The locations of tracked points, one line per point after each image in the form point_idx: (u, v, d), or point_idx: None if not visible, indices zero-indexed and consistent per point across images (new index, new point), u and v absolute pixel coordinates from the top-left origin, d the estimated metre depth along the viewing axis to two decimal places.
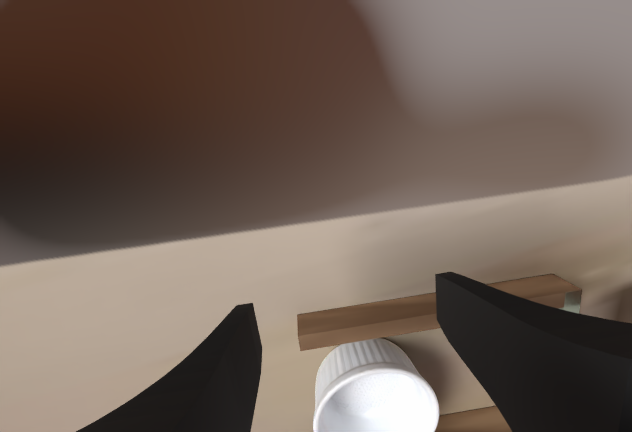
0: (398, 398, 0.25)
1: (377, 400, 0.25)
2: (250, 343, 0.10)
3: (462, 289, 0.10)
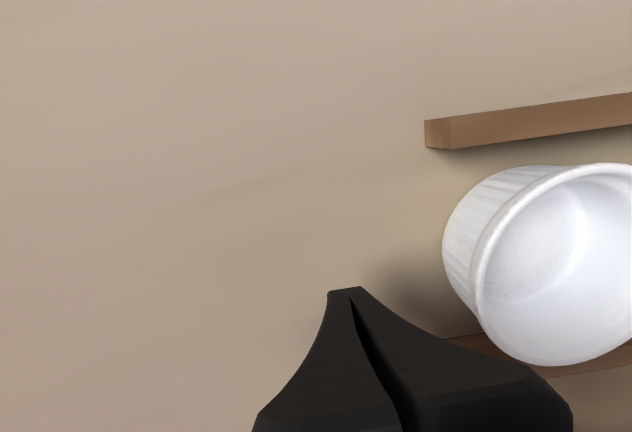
0: (564, 274, 0.16)
1: (532, 277, 0.16)
2: None
3: (355, 306, 0.10)
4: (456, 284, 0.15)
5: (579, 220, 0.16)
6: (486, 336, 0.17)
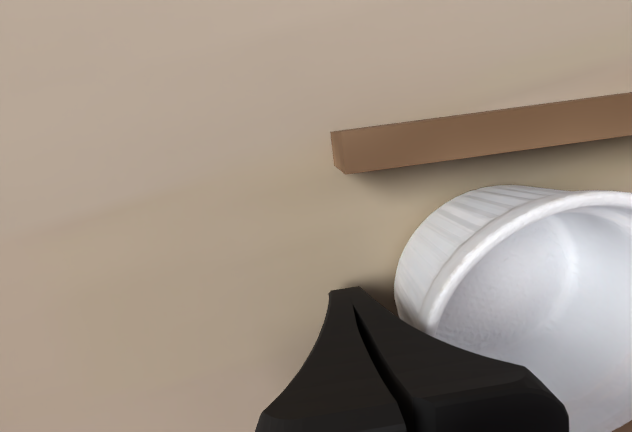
0: (550, 319, 0.13)
1: (510, 323, 0.13)
2: None
3: (353, 306, 0.10)
4: None
5: (567, 253, 0.12)
6: None
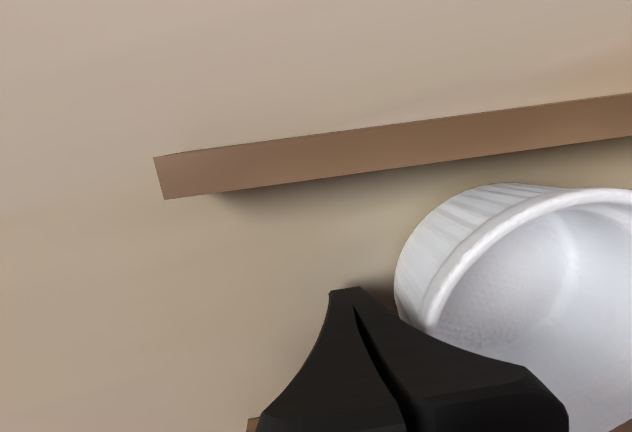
0: (550, 316, 0.13)
1: (510, 321, 0.13)
2: None
3: (353, 306, 0.10)
4: None
5: (567, 250, 0.12)
6: None
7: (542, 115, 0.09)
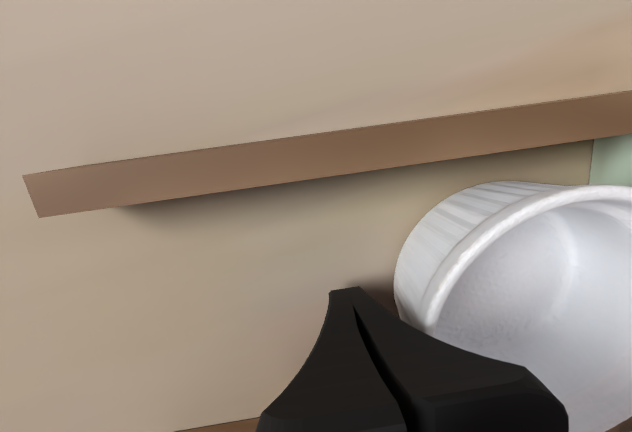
0: (551, 314, 0.13)
1: (511, 320, 0.13)
2: None
3: (353, 306, 0.10)
4: None
5: (567, 247, 0.12)
6: (238, 426, 0.14)
7: (424, 129, 0.09)
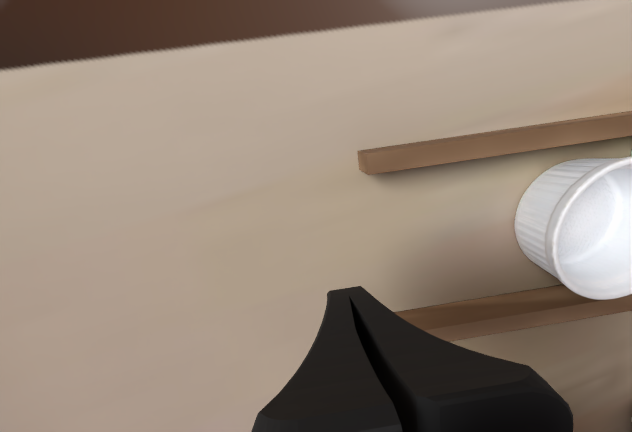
0: (605, 238, 0.22)
1: (582, 241, 0.22)
2: None
3: (355, 306, 0.10)
4: (530, 246, 0.20)
5: (616, 197, 0.21)
6: (414, 311, 0.23)
7: (556, 130, 0.18)
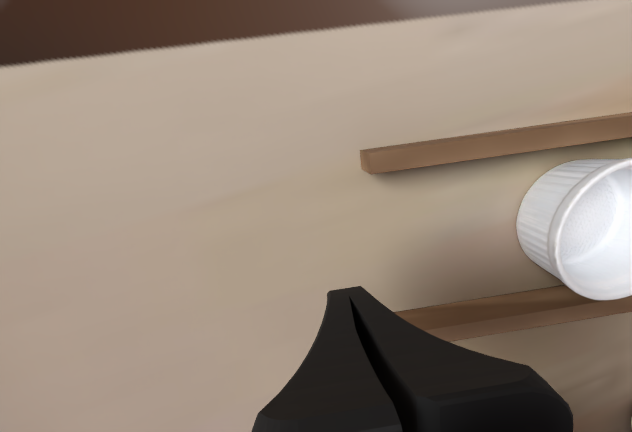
0: (606, 239, 0.22)
1: (583, 242, 0.22)
2: None
3: (355, 306, 0.10)
4: (532, 247, 0.20)
5: (617, 198, 0.21)
6: (415, 311, 0.23)
7: (559, 130, 0.18)
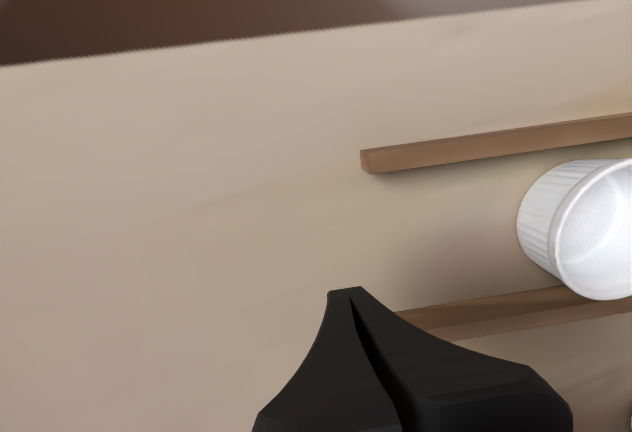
0: (607, 239, 0.22)
1: (583, 242, 0.22)
2: None
3: (355, 306, 0.10)
4: (532, 247, 0.20)
5: (617, 198, 0.21)
6: (415, 311, 0.23)
7: (559, 130, 0.18)
